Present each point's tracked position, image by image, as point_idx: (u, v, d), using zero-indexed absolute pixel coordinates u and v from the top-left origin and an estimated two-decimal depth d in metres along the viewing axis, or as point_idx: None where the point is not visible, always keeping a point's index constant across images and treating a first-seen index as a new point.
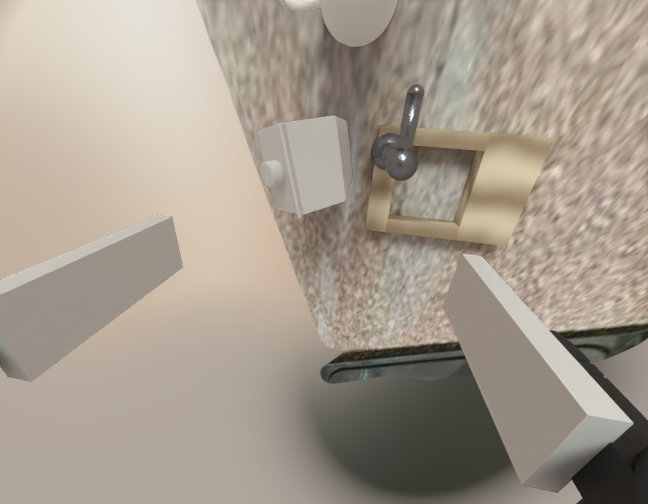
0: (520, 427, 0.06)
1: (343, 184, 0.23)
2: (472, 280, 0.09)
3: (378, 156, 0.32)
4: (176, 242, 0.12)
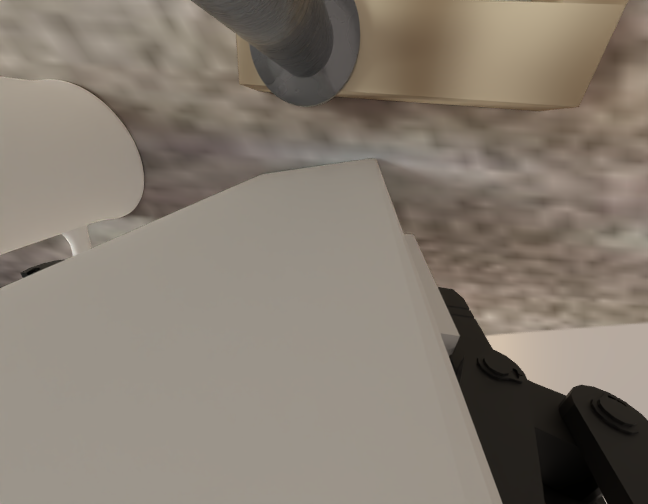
0: None
1: None
2: None
3: (315, 78, 0.10)
4: None
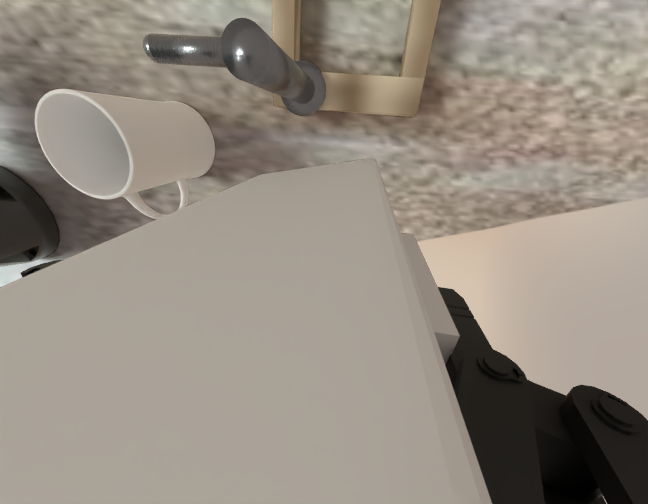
0: None
1: None
2: None
3: (307, 104, 0.24)
4: None
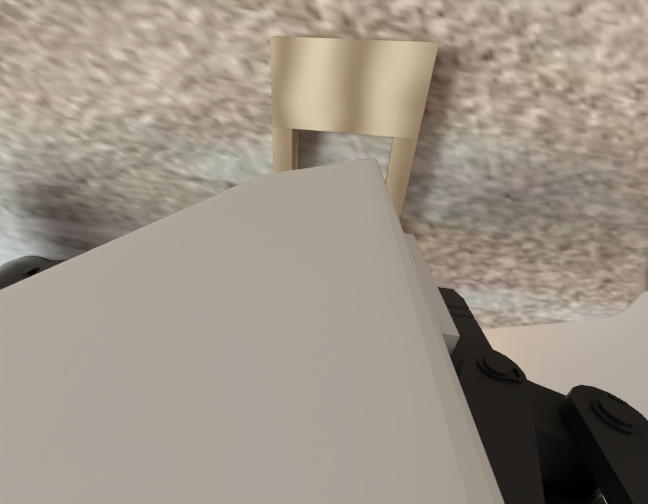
0: None
1: None
2: None
3: None
4: None
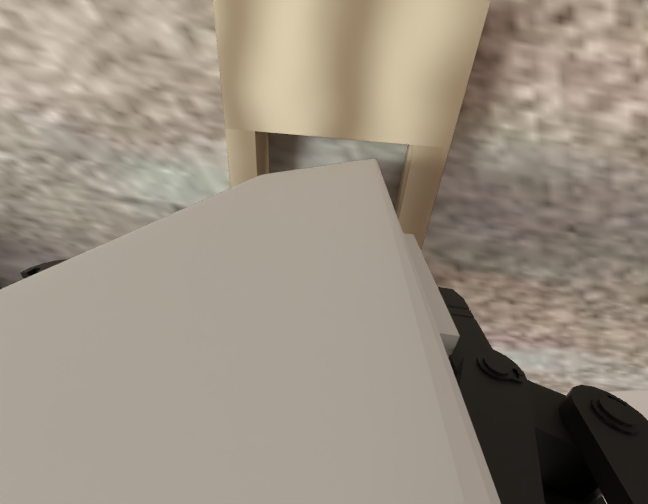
0: None
1: None
2: None
3: None
4: None
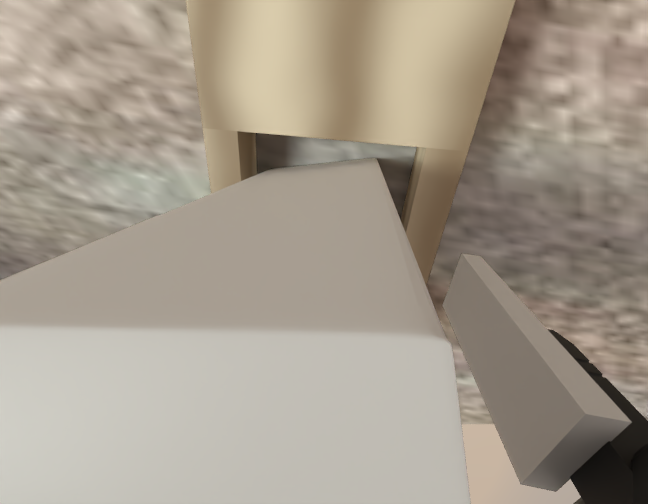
0: (519, 426, 0.06)
1: (279, 336, 0.02)
2: (472, 280, 0.09)
3: None
4: None
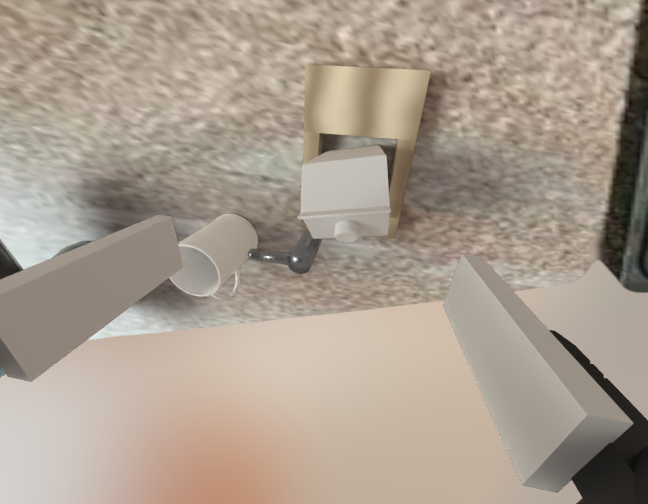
0: (520, 427, 0.06)
1: (367, 157, 0.20)
2: (472, 280, 0.09)
3: None
4: (176, 242, 0.12)
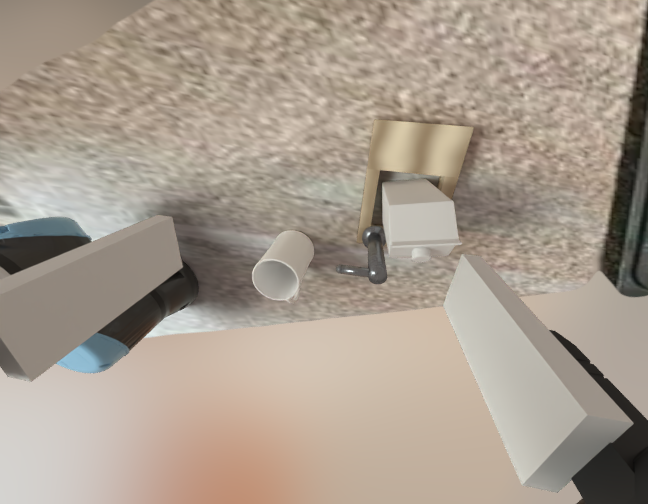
0: (520, 427, 0.06)
1: (439, 202, 0.28)
2: (472, 280, 0.09)
3: None
4: (176, 242, 0.12)
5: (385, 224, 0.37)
